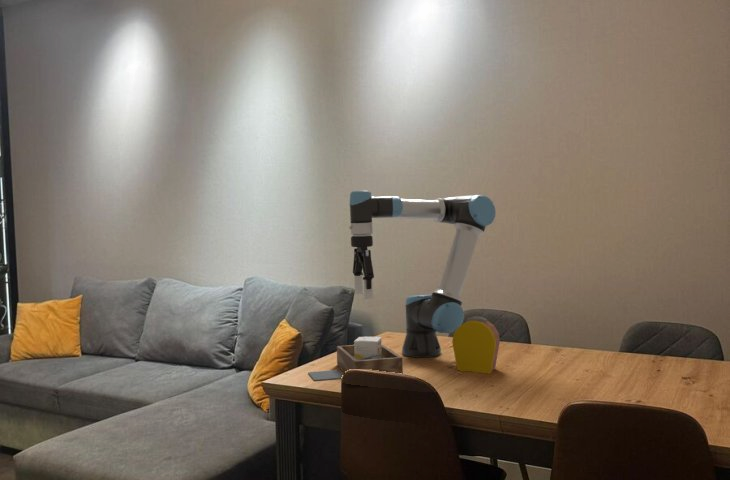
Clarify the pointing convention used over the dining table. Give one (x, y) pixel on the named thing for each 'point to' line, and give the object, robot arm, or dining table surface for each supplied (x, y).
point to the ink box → (367, 348)
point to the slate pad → (326, 375)
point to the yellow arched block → (476, 345)
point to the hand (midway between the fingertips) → (363, 296)
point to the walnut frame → (387, 363)
